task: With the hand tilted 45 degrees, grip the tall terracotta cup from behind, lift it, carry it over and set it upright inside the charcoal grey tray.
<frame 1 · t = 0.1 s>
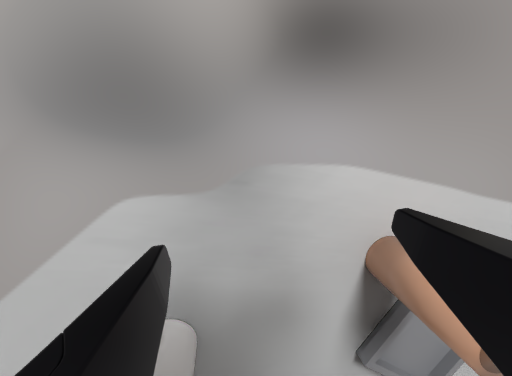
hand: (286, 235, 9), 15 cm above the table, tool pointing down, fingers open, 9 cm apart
charcoal tray: (430, 320, 31), on the table
terracotta cup: (386, 257, 28), on the table
mug: (168, 328, 27), on the table
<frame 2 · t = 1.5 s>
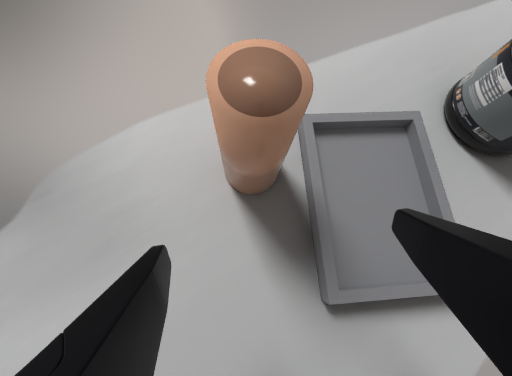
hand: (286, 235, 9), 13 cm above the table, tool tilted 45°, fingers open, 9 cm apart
charcoal tray: (369, 199, 24), on the table
terracotta cup: (251, 168, 24), on the table
supplement container: (480, 120, 28), on the table
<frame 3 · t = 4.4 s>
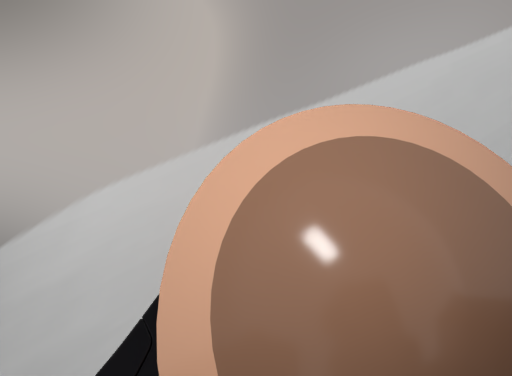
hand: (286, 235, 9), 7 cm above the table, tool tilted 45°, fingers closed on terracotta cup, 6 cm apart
terracotta cup: (271, 268, 15), on the table, touching gripper
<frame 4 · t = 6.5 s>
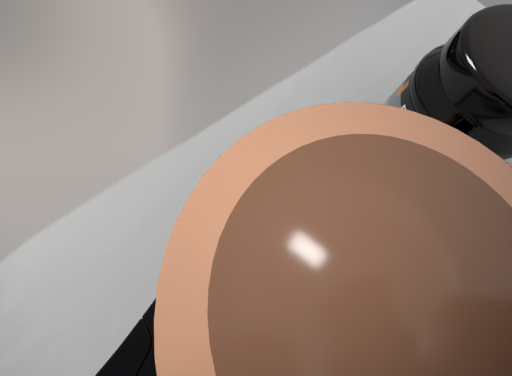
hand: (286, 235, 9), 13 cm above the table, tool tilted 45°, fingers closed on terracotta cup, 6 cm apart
terracotta cup: (271, 267, 15), point 7 cm above the table, touching gripper
supplement container: (406, 146, 26), on the table
when the fingers open (9 cm above the table, at t = 8.4 s): terracotta cup drops 1 cm, resting on charcoal tray.
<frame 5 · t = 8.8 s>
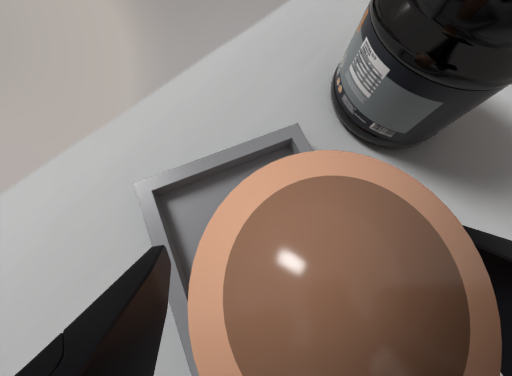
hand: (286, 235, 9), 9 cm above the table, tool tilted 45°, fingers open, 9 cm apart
charcoal tray: (268, 267, 17), on the table
terracotta cup: (269, 268, 16), point 1 cm above the table, touching charcoal tray
supplement container: (379, 104, 22), on the table
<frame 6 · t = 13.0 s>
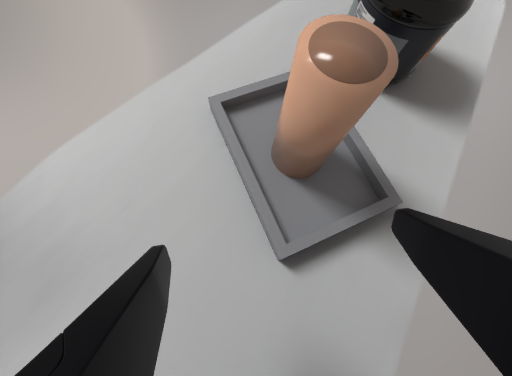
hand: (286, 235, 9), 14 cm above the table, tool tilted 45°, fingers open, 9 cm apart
charcoal tray: (295, 155, 25), on the table
terracotta cup: (297, 153, 24), point 1 cm above the table, touching charcoal tray
supplement container: (371, 57, 30), on the table
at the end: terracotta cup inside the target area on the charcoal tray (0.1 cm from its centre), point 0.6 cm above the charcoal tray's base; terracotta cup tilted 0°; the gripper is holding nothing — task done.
